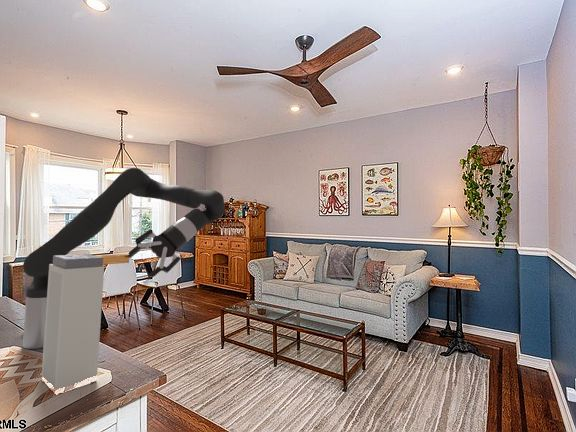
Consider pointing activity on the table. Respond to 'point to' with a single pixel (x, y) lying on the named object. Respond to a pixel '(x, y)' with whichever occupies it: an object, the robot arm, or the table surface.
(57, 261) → the grey paddle with handle
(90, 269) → the tall grey pillar
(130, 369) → the table surface
